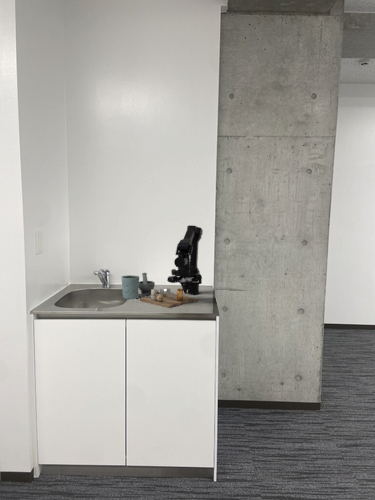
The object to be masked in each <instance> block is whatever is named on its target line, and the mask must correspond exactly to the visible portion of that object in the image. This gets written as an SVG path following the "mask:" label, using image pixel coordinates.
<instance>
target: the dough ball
mask: <svg viewBox="0 0 375 500" xmlns="http://www.w3.org/2000/svg"><path fill="white" fill-rule="evenodd" d="M157 295H158V296H157V300H158V301H162V300H163V296H162V295H159V294H157Z"/></svg>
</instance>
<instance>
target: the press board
mask: <svg viewBox="0 0 375 500" xmlns="http://www.w3.org/2000/svg"><path fill="white" fill-rule="evenodd" d="M157 293H158V289H156V288H154V289H151V294H150V295H149V296H147V297H142V298H139V302H142V303H147V304H151V305H155V306H159V307H164V308H168V309H169V308H174V307H178V306H181V305H186V304H189V303H193V302H197V301H198V298H197V297H192V296H189V295H184V294H183V300H182V301H178V300H176V299H173V298H170V297H167V296H163V295H162V296H163V300H162V301H158V300H157V296H158V295H161V294H160V293H159V294H157Z"/></svg>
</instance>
